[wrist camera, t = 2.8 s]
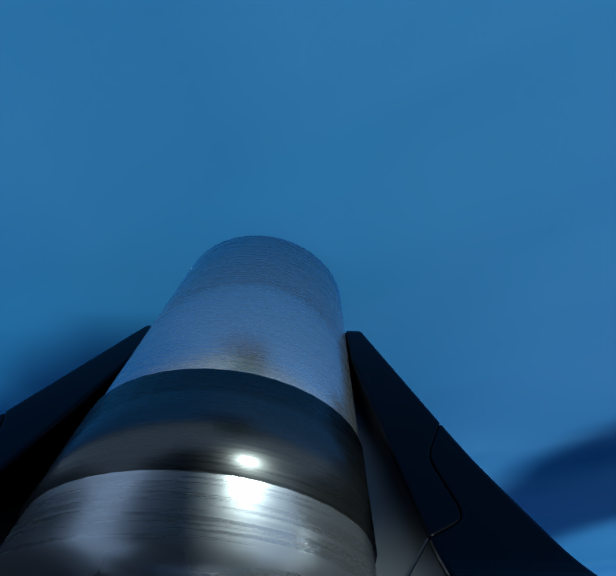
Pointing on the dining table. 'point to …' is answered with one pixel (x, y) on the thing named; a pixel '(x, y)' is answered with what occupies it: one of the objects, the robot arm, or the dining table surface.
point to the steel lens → (216, 439)
